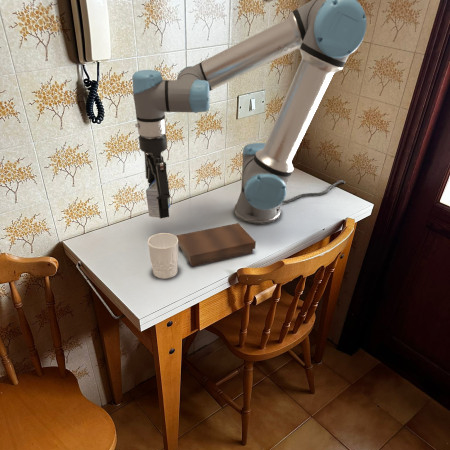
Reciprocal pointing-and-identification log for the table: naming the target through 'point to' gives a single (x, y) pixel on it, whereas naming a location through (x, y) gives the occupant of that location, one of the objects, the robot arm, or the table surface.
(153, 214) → the medicine box
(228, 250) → the board
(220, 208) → the table surface
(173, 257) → the white cup
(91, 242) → the table surface
